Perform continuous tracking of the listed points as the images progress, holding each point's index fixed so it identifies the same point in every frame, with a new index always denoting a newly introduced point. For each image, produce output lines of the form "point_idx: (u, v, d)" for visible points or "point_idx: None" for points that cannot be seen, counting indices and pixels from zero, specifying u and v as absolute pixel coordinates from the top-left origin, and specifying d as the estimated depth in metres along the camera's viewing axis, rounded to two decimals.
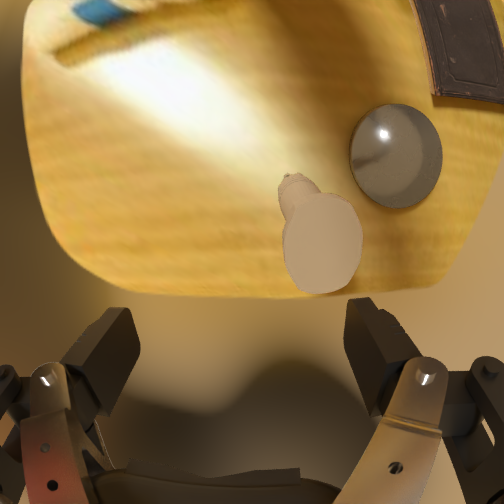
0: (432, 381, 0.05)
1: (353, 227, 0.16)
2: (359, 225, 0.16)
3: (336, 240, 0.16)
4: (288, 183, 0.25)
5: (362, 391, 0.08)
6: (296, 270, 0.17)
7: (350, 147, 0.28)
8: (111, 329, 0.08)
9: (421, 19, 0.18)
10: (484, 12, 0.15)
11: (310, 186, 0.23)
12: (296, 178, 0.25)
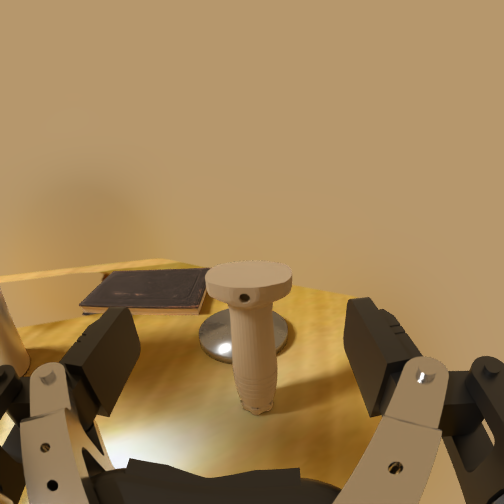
0: (432, 381, 0.05)
1: (235, 263, 0.23)
2: (234, 262, 0.23)
3: (242, 269, 0.22)
4: (235, 376, 0.24)
5: (362, 392, 0.08)
6: (263, 283, 0.19)
7: (229, 361, 0.33)
8: (111, 329, 0.08)
9: (142, 306, 0.43)
10: (145, 274, 0.56)
11: None
12: None
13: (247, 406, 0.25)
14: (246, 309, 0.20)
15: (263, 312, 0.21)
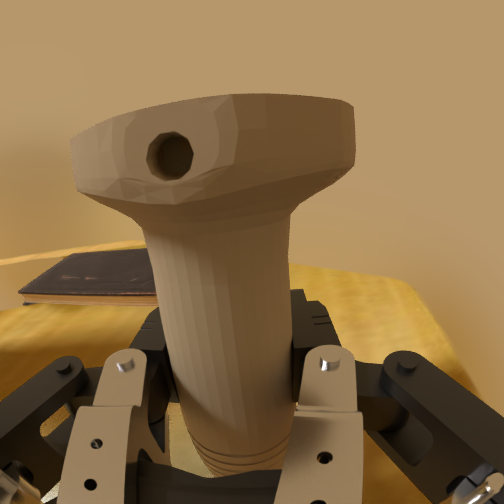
0: (332, 369, 0.06)
1: None
2: None
3: None
4: None
5: None
6: None
7: None
8: None
9: (87, 293, 0.28)
10: (107, 255, 0.40)
11: None
12: None
13: None
14: (189, 228, 0.05)
15: (258, 246, 0.06)
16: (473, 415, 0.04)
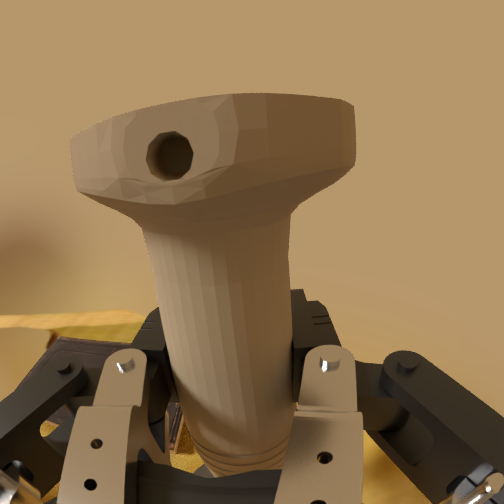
0: (332, 368, 0.06)
1: None
2: None
3: None
4: (191, 436, 0.08)
5: None
6: None
7: None
8: None
9: None
10: (98, 351, 0.32)
11: None
12: None
13: None
14: (189, 229, 0.05)
15: (258, 247, 0.06)
16: (474, 415, 0.04)
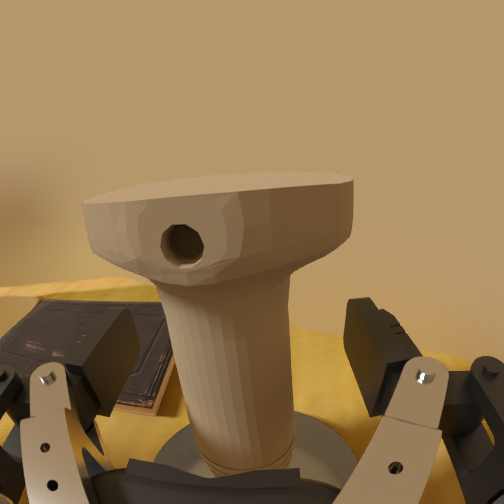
0: (432, 381, 0.05)
1: (186, 178, 0.08)
2: (187, 178, 0.09)
3: (201, 180, 0.07)
4: (199, 451, 0.09)
5: (362, 391, 0.08)
6: (260, 187, 0.05)
7: None
8: (111, 329, 0.08)
9: None
10: (82, 310, 0.29)
11: None
12: None
13: None
14: (201, 296, 0.06)
15: (261, 308, 0.06)
16: None
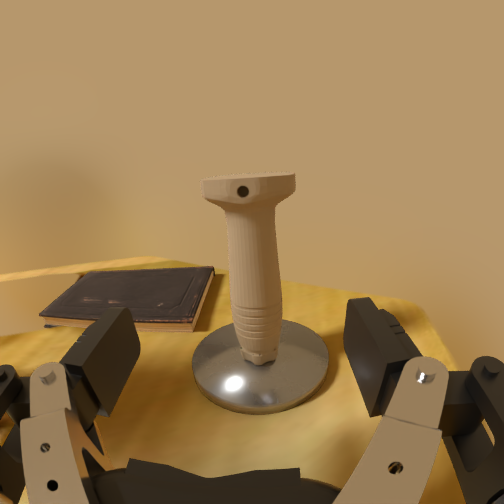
0: (432, 381, 0.05)
1: None
2: None
3: (241, 175, 0.20)
4: (233, 309, 0.21)
5: (361, 392, 0.08)
6: (264, 176, 0.17)
7: (240, 410, 0.19)
8: (111, 329, 0.08)
9: None
10: (126, 275, 0.42)
11: None
12: None
13: (247, 353, 0.23)
14: (245, 210, 0.18)
15: (264, 216, 0.19)
16: None
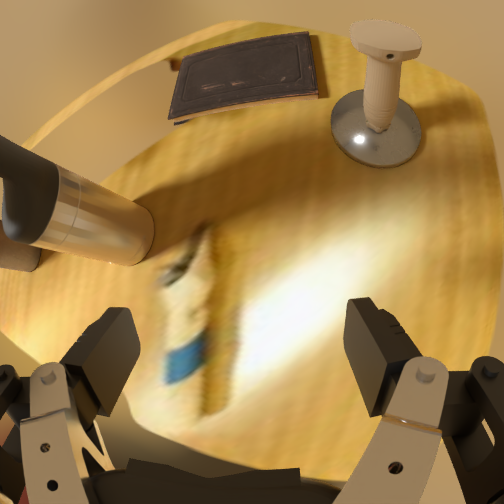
0: (432, 381, 0.05)
1: (368, 22, 0.17)
2: (367, 20, 0.17)
3: (379, 29, 0.17)
4: (367, 104, 0.26)
5: (361, 391, 0.08)
6: (404, 47, 0.16)
7: (372, 165, 0.31)
8: (111, 329, 0.08)
9: (250, 100, 0.36)
10: (228, 51, 0.39)
11: None
12: (363, 101, 0.27)
13: (372, 125, 0.30)
14: (387, 61, 0.18)
15: (398, 63, 0.18)
16: None
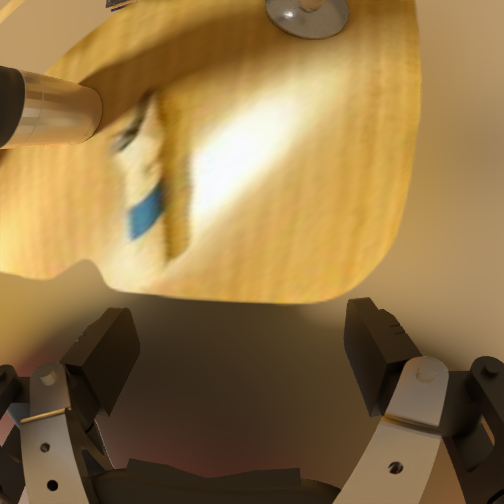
0: (432, 381, 0.05)
1: None
2: None
3: None
4: None
5: (361, 392, 0.08)
6: None
7: (301, 37, 0.30)
8: (111, 329, 0.08)
9: None
10: None
11: None
12: None
13: (303, 6, 0.27)
14: None
15: None
16: None
